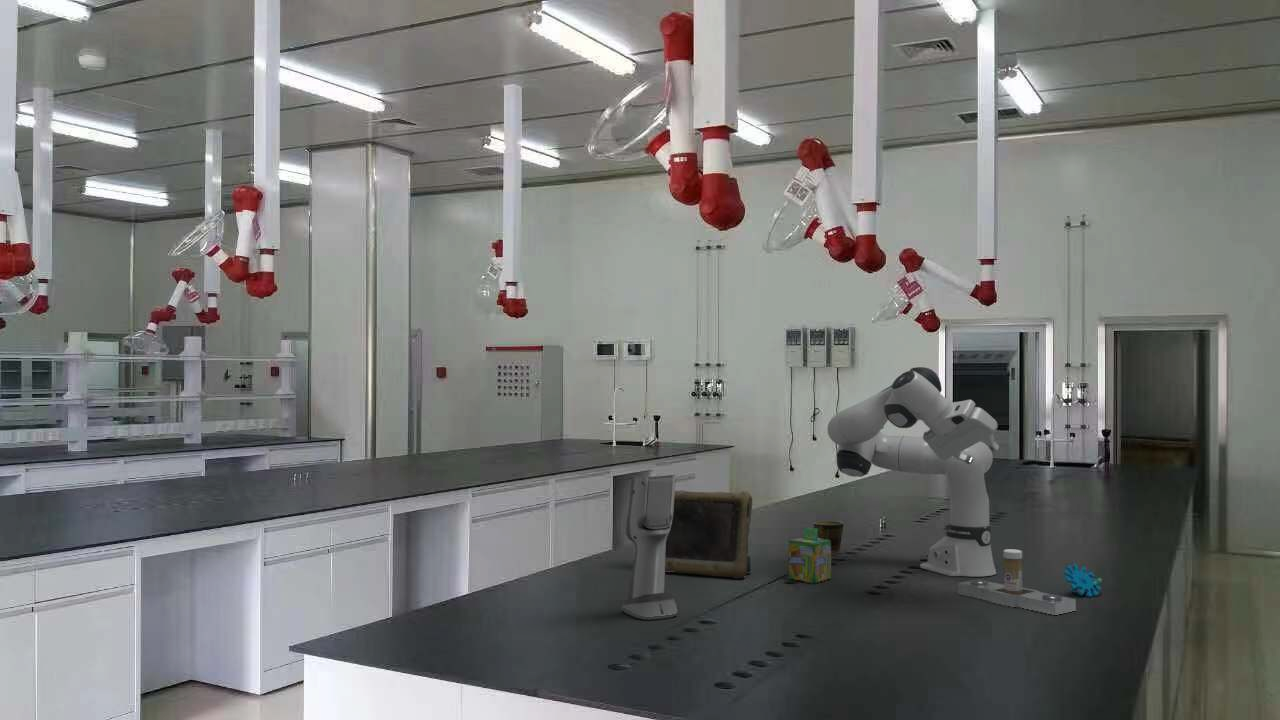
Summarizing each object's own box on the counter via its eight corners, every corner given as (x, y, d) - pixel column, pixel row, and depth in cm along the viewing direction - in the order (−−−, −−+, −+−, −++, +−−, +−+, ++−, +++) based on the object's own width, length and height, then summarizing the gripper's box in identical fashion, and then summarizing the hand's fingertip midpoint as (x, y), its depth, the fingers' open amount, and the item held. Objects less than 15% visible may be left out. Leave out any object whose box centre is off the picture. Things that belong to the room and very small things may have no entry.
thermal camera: (641, 622, 236) (639, 477, 237) (619, 611, 248) (617, 473, 248) (683, 616, 241) (681, 474, 242) (660, 606, 253) (658, 470, 253)
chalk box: (788, 580, 283) (787, 528, 283) (805, 575, 290) (804, 525, 290) (815, 584, 277) (814, 531, 277) (832, 579, 283) (831, 528, 284)
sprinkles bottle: (1001, 603, 251) (1000, 550, 251) (1008, 599, 254) (1007, 548, 254) (1019, 605, 248) (1018, 552, 248) (1026, 602, 251) (1024, 549, 251)
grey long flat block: (955, 594, 261) (955, 581, 261) (980, 590, 266) (979, 576, 266) (1053, 616, 236) (1052, 601, 236) (1078, 611, 241) (1077, 596, 241)
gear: (1075, 593, 254) (1060, 561, 261) (1063, 605, 258) (1048, 573, 265) (1111, 596, 256) (1096, 564, 263) (1099, 608, 260) (1084, 577, 267)
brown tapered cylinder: (821, 549, 333) (821, 519, 334) (848, 551, 328) (848, 521, 328) (804, 554, 323) (803, 524, 323) (832, 557, 317) (831, 526, 317)
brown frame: (640, 574, 295) (639, 491, 295) (656, 566, 308) (655, 486, 308) (745, 581, 283) (743, 494, 283) (757, 572, 296) (755, 489, 296)
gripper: (915, 442, 262) (952, 477, 263) (968, 411, 246) (1007, 449, 247) (923, 428, 266) (960, 462, 267) (976, 396, 250) (1015, 433, 250)
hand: (983, 456), depth 256 cm, fingers open, 8 cm apart
